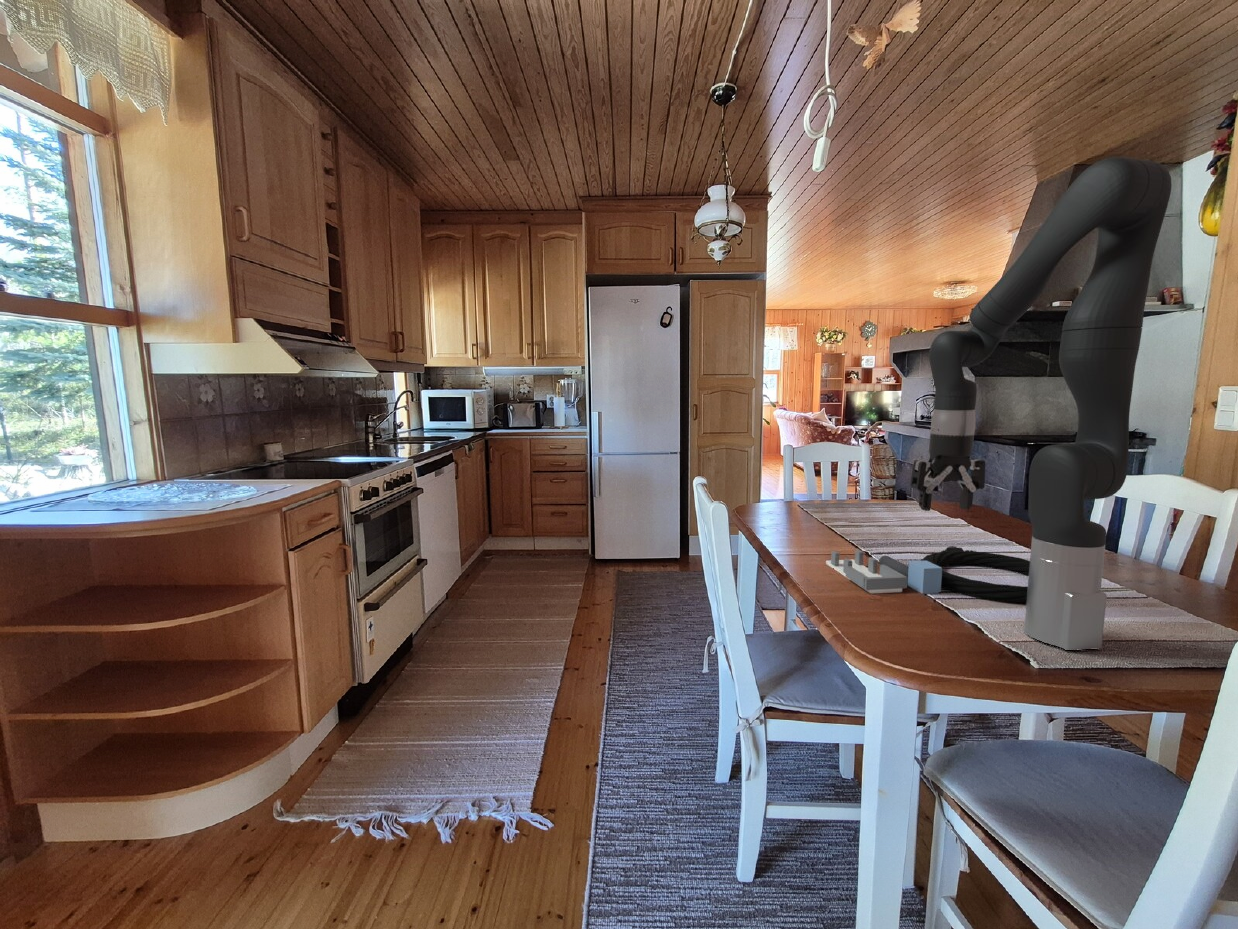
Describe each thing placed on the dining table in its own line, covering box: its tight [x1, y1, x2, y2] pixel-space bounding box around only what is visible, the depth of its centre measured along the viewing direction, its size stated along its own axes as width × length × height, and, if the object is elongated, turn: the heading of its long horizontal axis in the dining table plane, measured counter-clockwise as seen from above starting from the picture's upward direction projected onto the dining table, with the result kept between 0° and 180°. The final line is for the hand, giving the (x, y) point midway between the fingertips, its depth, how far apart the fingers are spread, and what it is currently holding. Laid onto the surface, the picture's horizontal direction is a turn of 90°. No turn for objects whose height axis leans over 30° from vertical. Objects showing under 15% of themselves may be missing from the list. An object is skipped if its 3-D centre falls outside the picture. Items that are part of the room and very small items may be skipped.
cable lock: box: [919, 545, 1030, 605], centre depth 116 cm, size 28×4×30 cm
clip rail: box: [825, 549, 908, 595], centre depth 119 cm, size 20×9×4 cm, turn 4°
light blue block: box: [878, 555, 943, 595], centre depth 117 cm, size 17×4×6 cm, turn 4°
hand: (945, 509), depth 108 cm, fingers open, 8 cm apart
